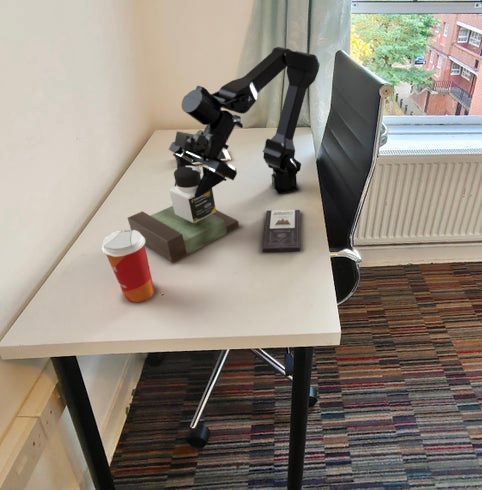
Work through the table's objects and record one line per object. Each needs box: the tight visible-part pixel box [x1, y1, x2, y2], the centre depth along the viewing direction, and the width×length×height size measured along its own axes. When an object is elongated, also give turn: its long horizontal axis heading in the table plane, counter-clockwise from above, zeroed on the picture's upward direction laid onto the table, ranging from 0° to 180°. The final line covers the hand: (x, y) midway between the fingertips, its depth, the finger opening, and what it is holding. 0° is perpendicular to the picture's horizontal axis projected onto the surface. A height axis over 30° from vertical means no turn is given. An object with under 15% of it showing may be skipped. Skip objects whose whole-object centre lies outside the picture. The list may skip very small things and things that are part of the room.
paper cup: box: [101, 229, 155, 303], centre depth 89 cm, size 8×8×14 cm
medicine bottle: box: [169, 166, 217, 223], centre depth 106 cm, size 7×7×12 cm
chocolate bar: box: [261, 209, 301, 253], centre depth 114 cm, size 9×1×18 cm
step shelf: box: [127, 205, 240, 264], centre depth 110 cm, size 20×16×6 cm
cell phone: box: [192, 149, 231, 166], centre depth 148 cm, size 8×16×1 cm, turn 113°
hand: (186, 191), depth 105 cm, fingers closed on medicine bottle, 7 cm apart
